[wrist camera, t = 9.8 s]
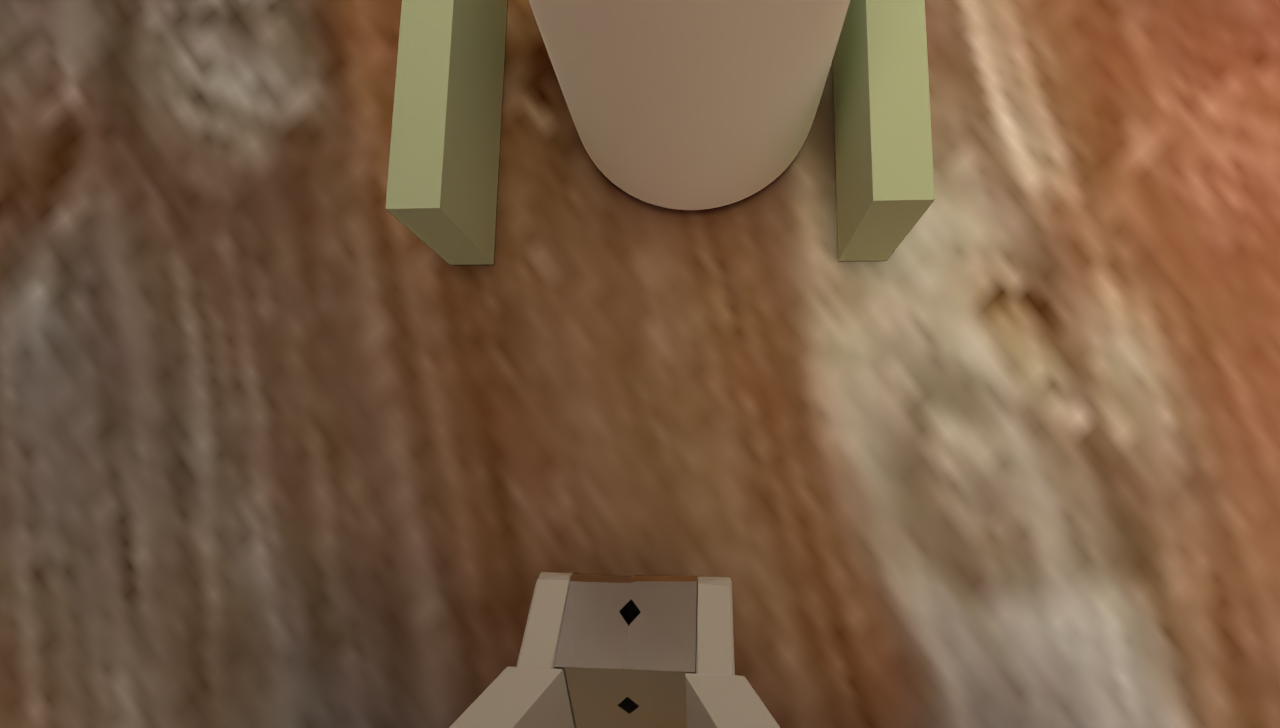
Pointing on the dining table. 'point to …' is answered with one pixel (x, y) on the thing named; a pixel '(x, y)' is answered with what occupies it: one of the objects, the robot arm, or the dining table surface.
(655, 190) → the can
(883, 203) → the olive frame
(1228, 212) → the dining table surface
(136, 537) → the dining table surface
